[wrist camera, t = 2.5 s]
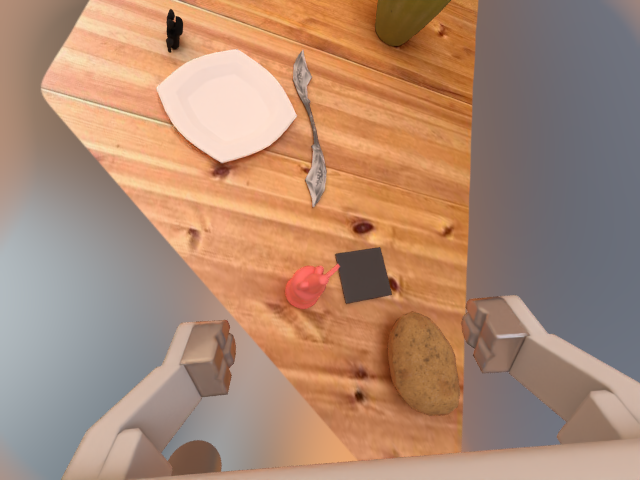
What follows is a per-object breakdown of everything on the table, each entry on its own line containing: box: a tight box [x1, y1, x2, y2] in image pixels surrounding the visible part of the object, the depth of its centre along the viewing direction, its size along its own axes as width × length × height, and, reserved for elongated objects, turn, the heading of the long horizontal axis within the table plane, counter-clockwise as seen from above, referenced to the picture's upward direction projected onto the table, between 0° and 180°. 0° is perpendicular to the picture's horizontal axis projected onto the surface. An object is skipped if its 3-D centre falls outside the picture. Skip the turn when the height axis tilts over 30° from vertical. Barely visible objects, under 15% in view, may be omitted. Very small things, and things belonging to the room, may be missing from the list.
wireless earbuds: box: [166, 9, 183, 53], centre depth 51 cm, size 7×2×5 cm, turn 4°
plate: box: [156, 49, 297, 163], centre depth 52 cm, size 19×19×2 cm
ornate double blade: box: [293, 50, 327, 207], centre depth 56 cm, size 32×1×5 cm
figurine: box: [285, 264, 340, 309], centre depth 40 cm, size 5×5×15 cm
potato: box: [388, 311, 460, 416], centre depth 45 cm, size 10×14×8 cm
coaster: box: [335, 247, 392, 304], centre depth 51 cm, size 8×8×1 cm
